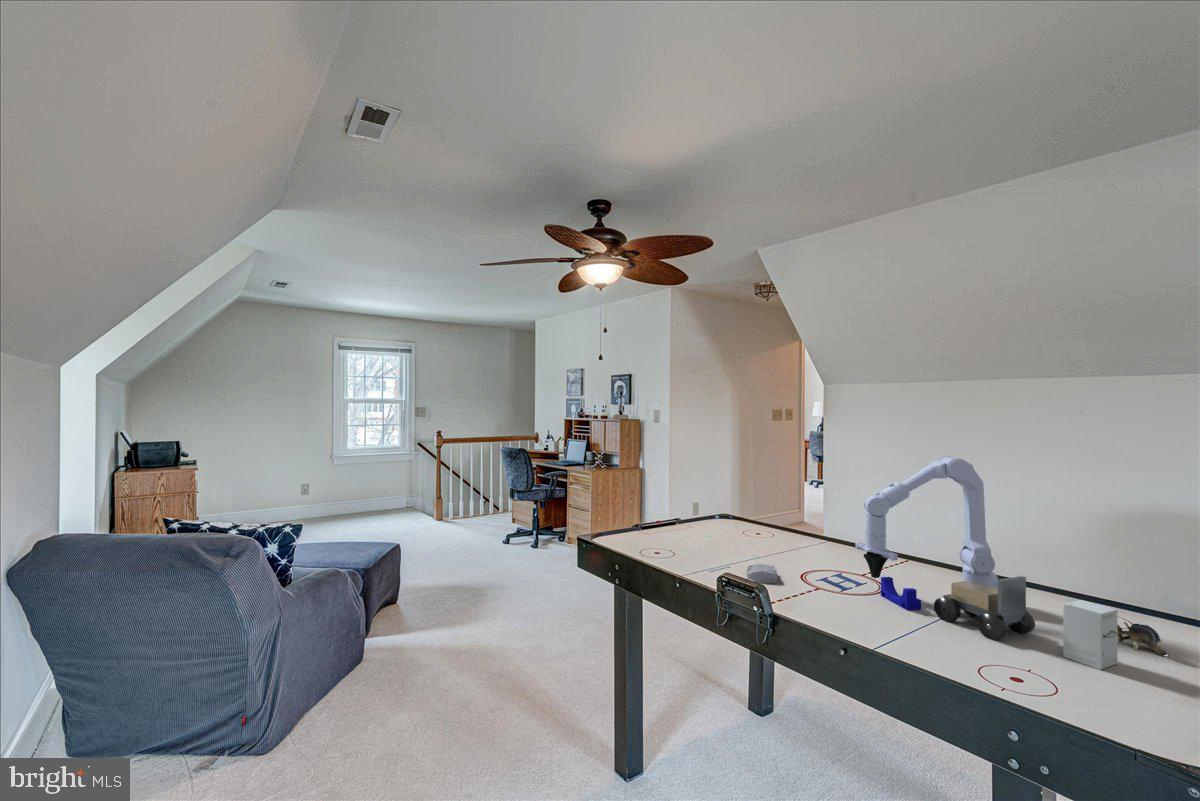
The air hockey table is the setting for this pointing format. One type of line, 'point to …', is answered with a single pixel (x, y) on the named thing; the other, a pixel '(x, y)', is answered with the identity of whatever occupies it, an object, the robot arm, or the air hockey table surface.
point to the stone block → (762, 573)
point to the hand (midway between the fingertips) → (875, 577)
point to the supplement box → (1090, 634)
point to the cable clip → (905, 601)
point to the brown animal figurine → (1141, 637)
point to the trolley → (989, 606)
